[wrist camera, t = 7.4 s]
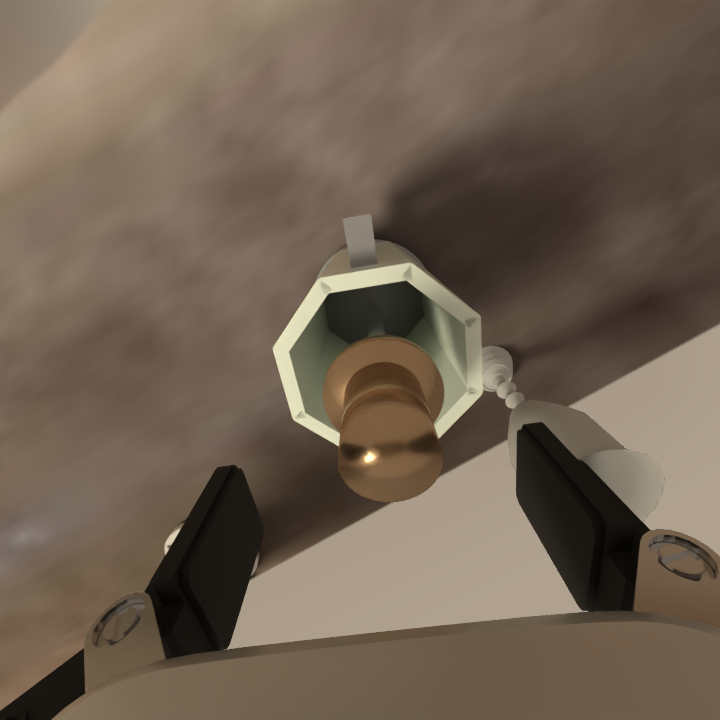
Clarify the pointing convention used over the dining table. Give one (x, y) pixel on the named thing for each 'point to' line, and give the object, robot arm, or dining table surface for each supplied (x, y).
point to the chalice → (577, 438)
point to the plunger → (385, 414)
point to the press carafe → (400, 318)
